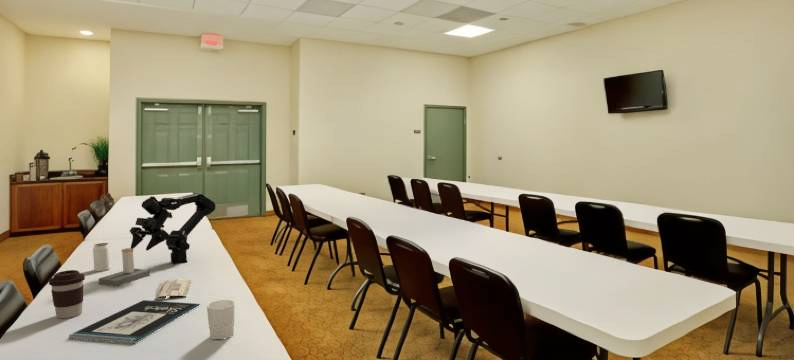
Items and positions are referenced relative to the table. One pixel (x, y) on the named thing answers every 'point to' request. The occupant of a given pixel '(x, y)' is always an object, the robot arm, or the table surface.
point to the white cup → (221, 319)
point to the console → (123, 277)
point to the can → (101, 257)
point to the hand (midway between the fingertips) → (138, 249)
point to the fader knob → (128, 260)
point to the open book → (173, 288)
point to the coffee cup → (67, 293)
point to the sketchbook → (134, 322)
